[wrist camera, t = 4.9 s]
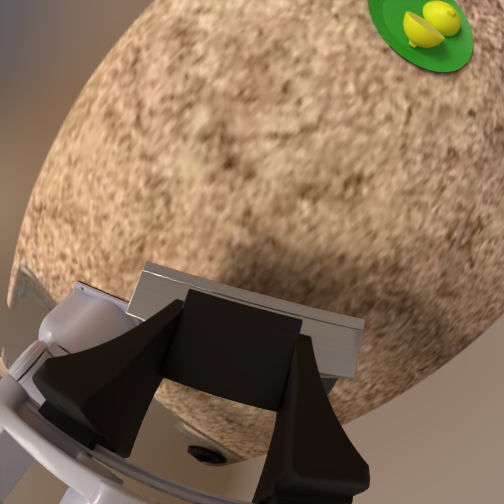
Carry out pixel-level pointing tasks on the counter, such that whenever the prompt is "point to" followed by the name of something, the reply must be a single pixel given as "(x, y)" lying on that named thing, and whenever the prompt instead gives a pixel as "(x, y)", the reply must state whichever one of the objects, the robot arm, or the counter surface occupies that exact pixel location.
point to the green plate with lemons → (425, 31)
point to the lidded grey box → (242, 336)
